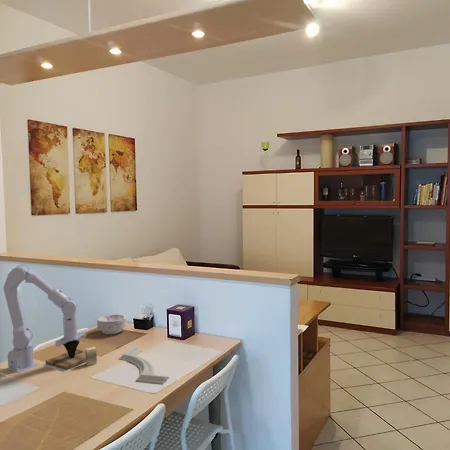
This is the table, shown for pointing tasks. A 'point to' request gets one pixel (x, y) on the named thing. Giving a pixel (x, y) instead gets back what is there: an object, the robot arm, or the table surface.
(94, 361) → the block
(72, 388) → the table surface
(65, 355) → the laid plank
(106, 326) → the paper bowls
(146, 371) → the molding
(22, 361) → the robot arm
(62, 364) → the board
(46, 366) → the underlay
